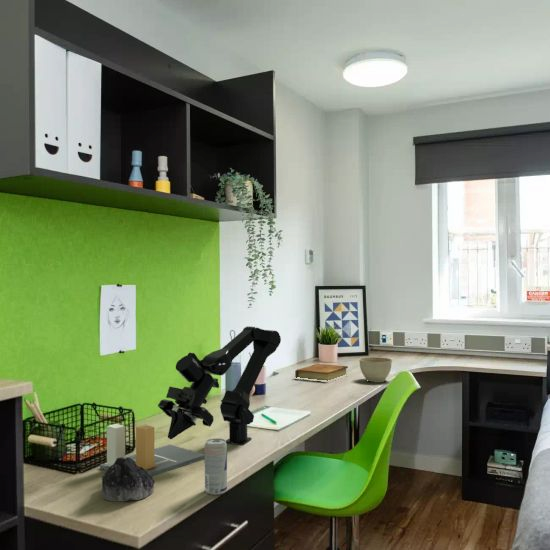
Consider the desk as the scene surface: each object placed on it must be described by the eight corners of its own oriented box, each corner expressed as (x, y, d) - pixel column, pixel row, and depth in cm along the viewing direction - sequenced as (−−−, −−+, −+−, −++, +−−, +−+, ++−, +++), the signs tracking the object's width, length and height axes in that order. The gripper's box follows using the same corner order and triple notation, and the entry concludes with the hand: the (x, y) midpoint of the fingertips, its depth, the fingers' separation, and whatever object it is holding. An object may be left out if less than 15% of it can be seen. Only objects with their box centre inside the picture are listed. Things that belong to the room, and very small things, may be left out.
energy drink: (227, 486, 138) (227, 438, 139) (226, 495, 133) (226, 444, 133) (205, 487, 138) (205, 438, 138) (203, 495, 133) (203, 444, 133)
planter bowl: (353, 381, 279) (353, 359, 279) (368, 377, 292) (368, 356, 292) (383, 385, 269) (382, 362, 269) (397, 380, 282) (397, 358, 282)
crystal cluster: (140, 482, 144) (135, 443, 145) (167, 491, 134) (162, 450, 135) (90, 500, 136) (85, 458, 136) (115, 512, 125) (110, 467, 126)
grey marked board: (169, 447, 171) (169, 444, 171) (205, 458, 161) (205, 454, 161) (100, 468, 153) (100, 464, 153) (135, 481, 142) (135, 477, 142)
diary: (316, 374, 306) (316, 363, 306) (347, 377, 296) (347, 366, 296) (295, 380, 286) (295, 369, 286) (328, 383, 276) (328, 372, 276)
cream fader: (117, 461, 155) (117, 423, 155) (127, 465, 151) (127, 425, 152) (104, 465, 151) (104, 426, 152) (114, 468, 148) (114, 429, 148)
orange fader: (145, 462, 153) (145, 424, 153) (156, 466, 150) (156, 426, 150) (133, 466, 150) (133, 427, 150) (144, 470, 147) (144, 430, 147)
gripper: (162, 372, 166) (131, 417, 158) (205, 378, 154) (174, 428, 146) (183, 393, 173) (154, 438, 164) (226, 401, 160) (197, 450, 152)
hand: (169, 438), depth 156 cm, fingers closed
